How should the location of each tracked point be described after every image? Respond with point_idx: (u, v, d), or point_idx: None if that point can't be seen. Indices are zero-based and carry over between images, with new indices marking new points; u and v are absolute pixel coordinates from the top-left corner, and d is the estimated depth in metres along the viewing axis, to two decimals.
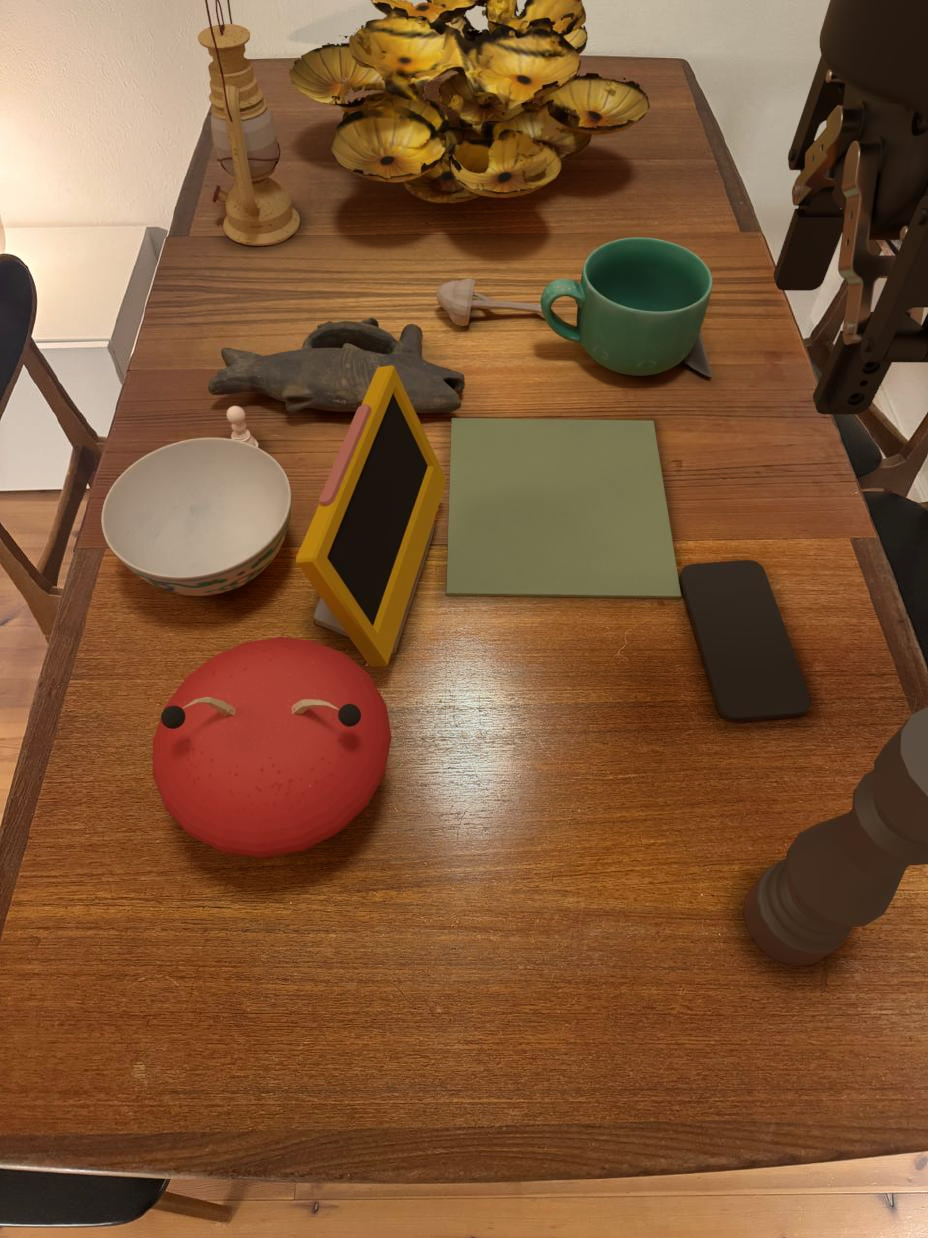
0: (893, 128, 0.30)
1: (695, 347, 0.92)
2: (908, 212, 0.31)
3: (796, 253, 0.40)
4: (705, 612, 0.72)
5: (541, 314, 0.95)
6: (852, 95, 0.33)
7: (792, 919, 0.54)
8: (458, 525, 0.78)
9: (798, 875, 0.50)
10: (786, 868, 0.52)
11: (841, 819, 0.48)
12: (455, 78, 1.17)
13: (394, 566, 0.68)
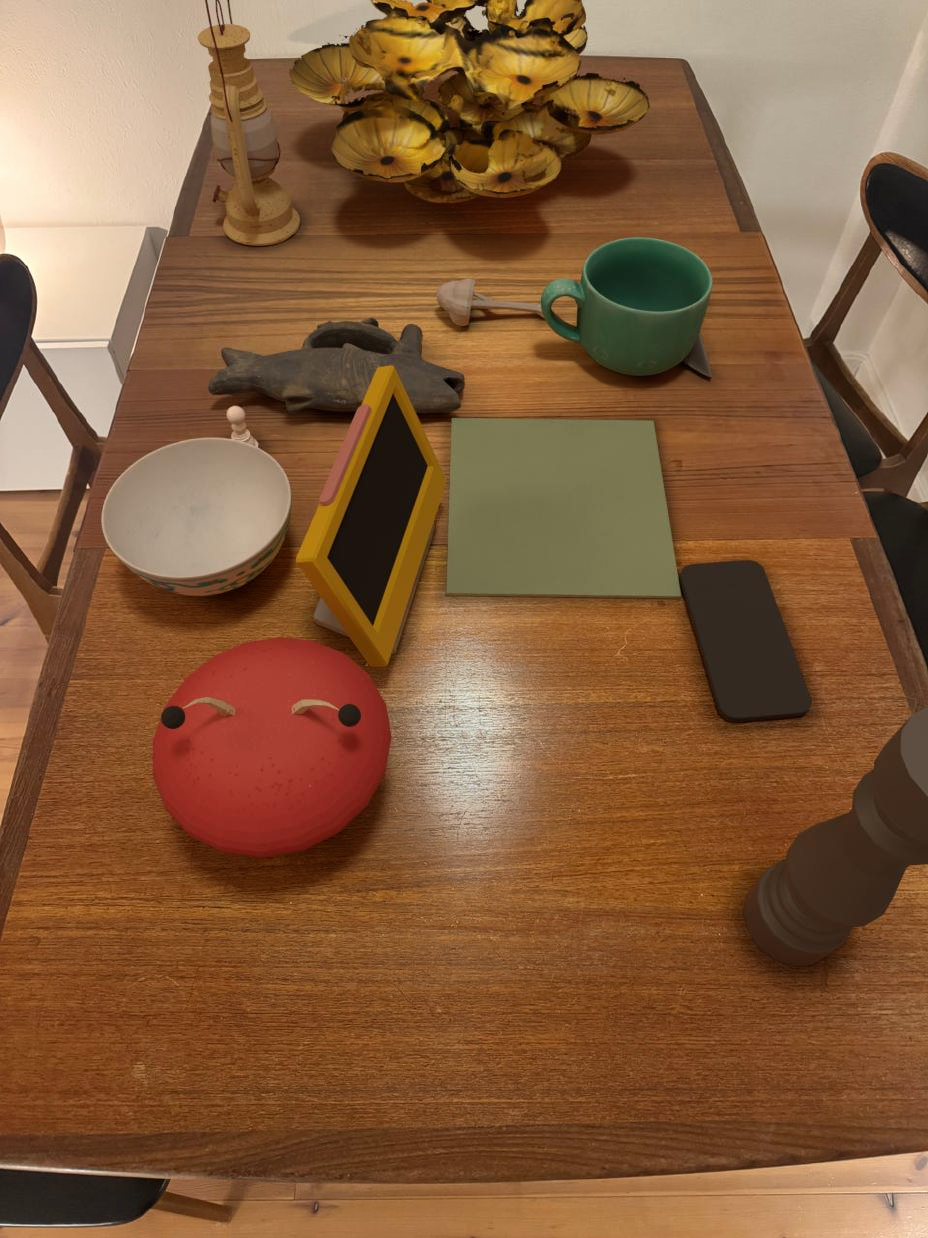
0: None
1: (695, 347, 0.92)
2: None
3: None
4: (705, 612, 0.72)
5: (541, 314, 0.95)
6: None
7: (792, 919, 0.54)
8: (458, 525, 0.78)
9: (798, 875, 0.50)
10: (786, 868, 0.52)
11: (841, 819, 0.48)
12: (455, 78, 1.17)
13: (394, 566, 0.68)
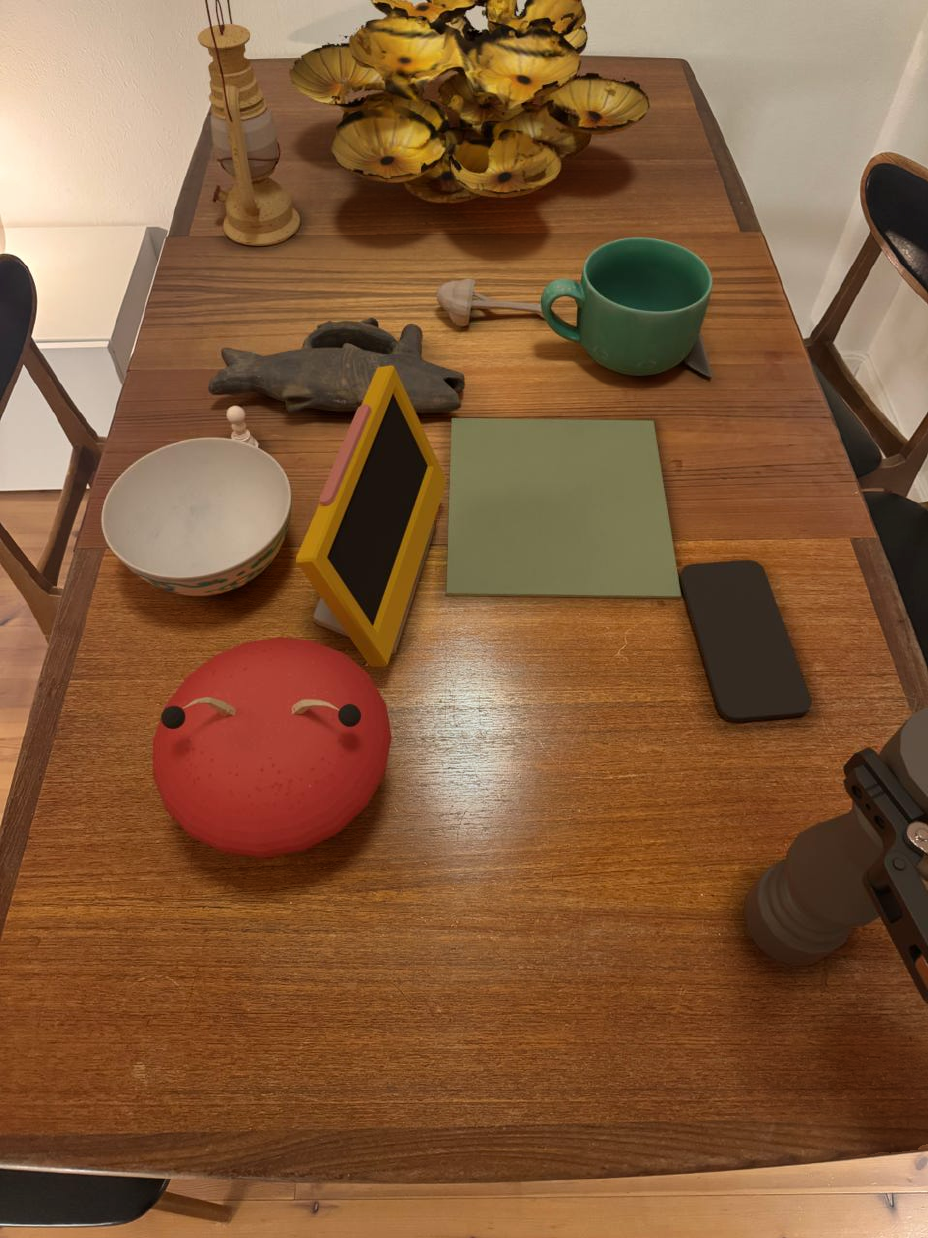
0: None
1: (695, 346, 0.92)
2: None
3: None
4: (705, 612, 0.72)
5: (541, 314, 0.95)
6: None
7: (792, 919, 0.54)
8: (458, 525, 0.78)
9: (798, 875, 0.50)
10: (786, 868, 0.52)
11: (841, 819, 0.48)
12: (455, 78, 1.17)
13: (394, 566, 0.68)
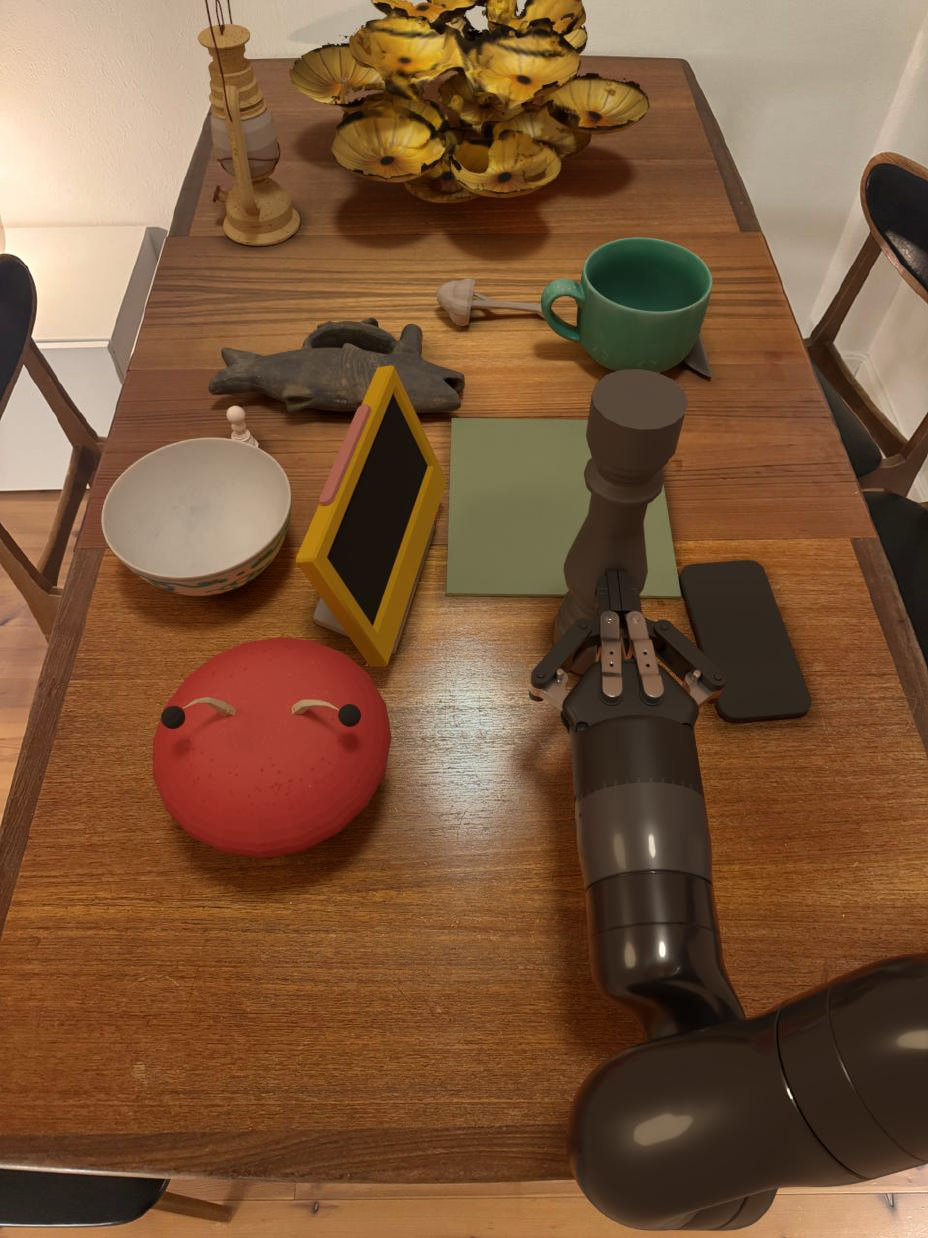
0: None
1: (695, 347, 0.92)
2: None
3: None
4: (705, 612, 0.72)
5: (541, 314, 0.95)
6: None
7: None
8: (458, 525, 0.78)
9: (568, 565, 0.63)
10: None
11: None
12: (455, 78, 1.17)
13: (394, 566, 0.68)
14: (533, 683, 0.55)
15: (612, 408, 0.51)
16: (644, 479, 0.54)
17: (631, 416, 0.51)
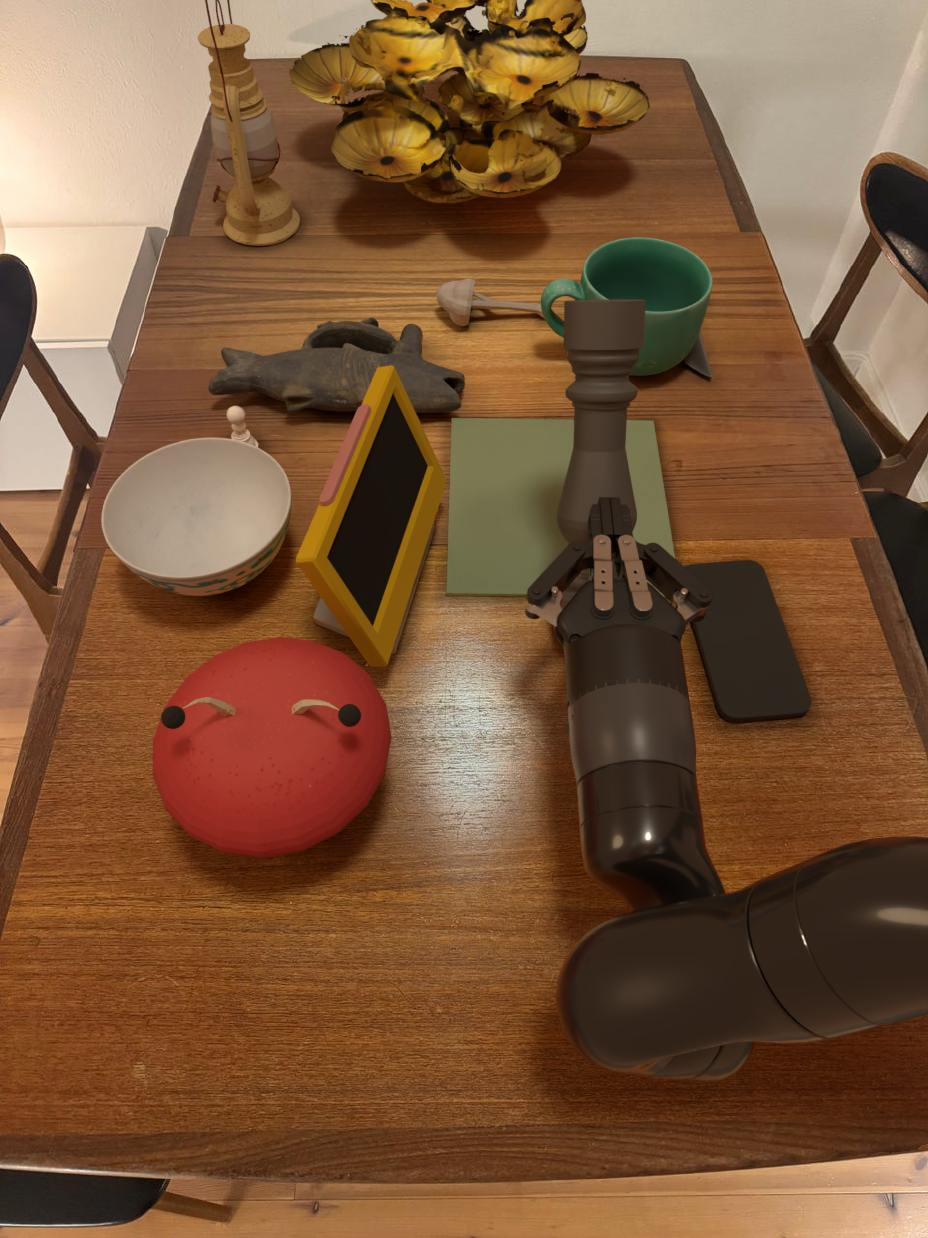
0: None
1: (695, 347, 0.92)
2: None
3: None
4: None
5: (541, 314, 0.95)
6: None
7: None
8: (458, 525, 0.78)
9: (560, 504, 0.66)
10: None
11: None
12: (455, 78, 1.17)
13: (394, 566, 0.68)
14: (529, 599, 0.58)
15: (582, 301, 0.61)
16: (618, 371, 0.61)
17: (598, 301, 0.60)
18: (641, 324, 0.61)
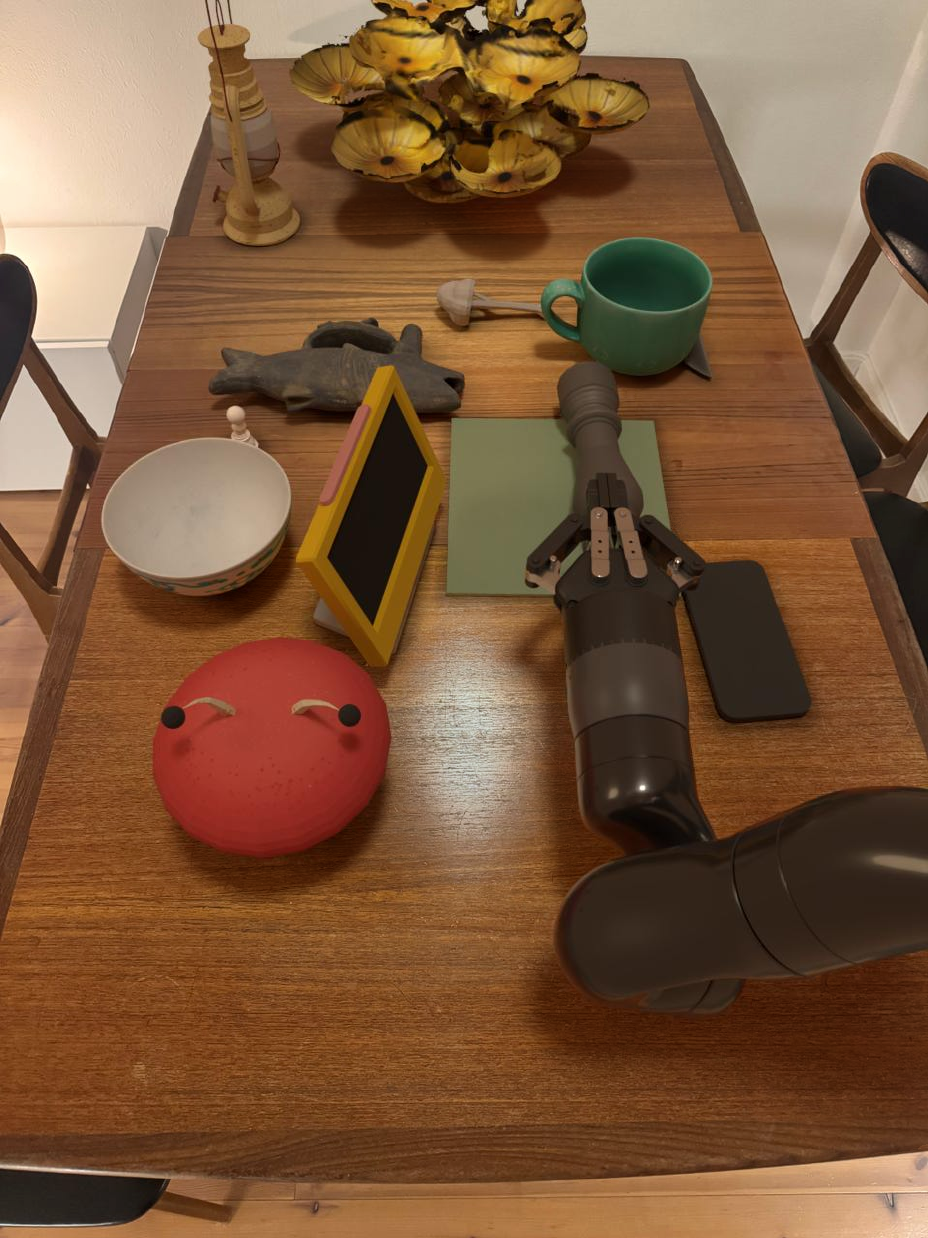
0: None
1: (695, 347, 0.92)
2: None
3: None
4: (705, 612, 0.72)
5: (541, 314, 0.95)
6: None
7: None
8: (458, 525, 0.78)
9: (592, 475, 0.75)
10: (585, 487, 0.74)
11: (579, 461, 0.79)
12: (455, 78, 1.17)
13: (393, 566, 0.68)
14: (528, 568, 0.60)
15: None
16: (614, 411, 0.82)
17: None
18: None
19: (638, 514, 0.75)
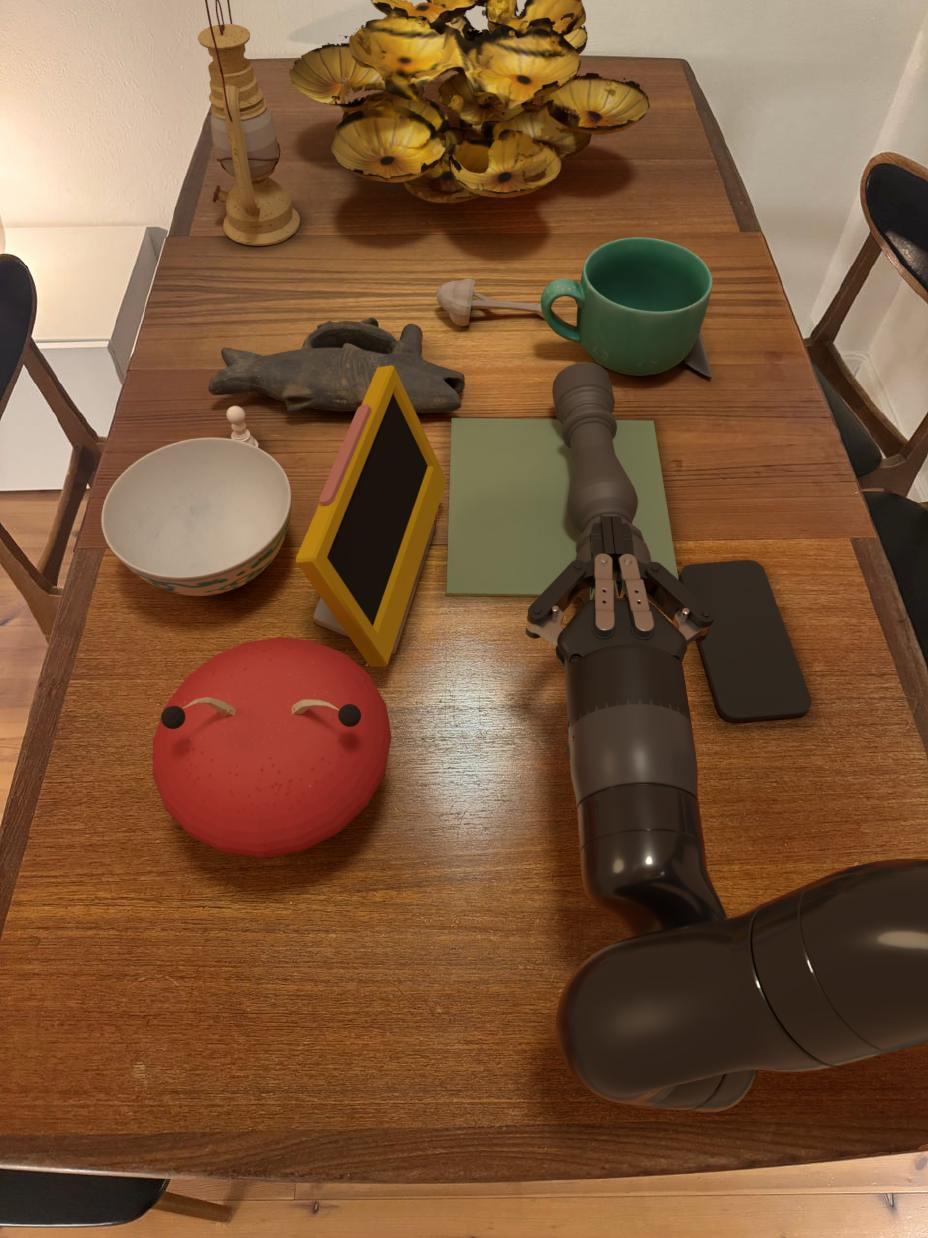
0: None
1: (695, 347, 0.92)
2: None
3: None
4: None
5: (541, 314, 0.95)
6: None
7: None
8: (458, 525, 0.78)
9: (582, 478, 0.75)
10: (575, 491, 0.75)
11: (573, 464, 0.79)
12: (455, 78, 1.17)
13: (394, 566, 0.68)
14: (530, 619, 0.58)
15: None
16: (608, 409, 0.82)
17: None
18: None
19: (632, 512, 0.74)
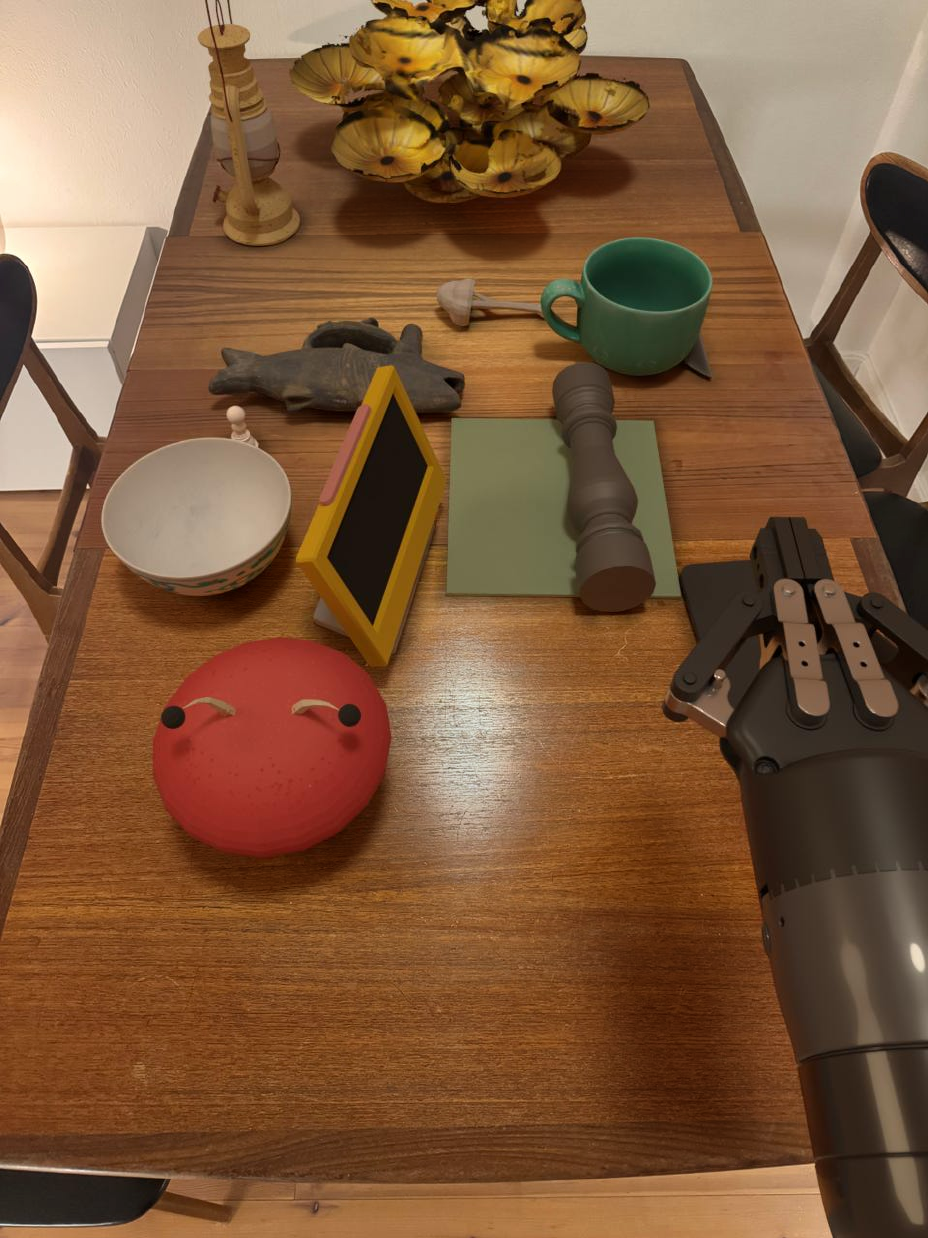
0: None
1: (695, 347, 0.92)
2: None
3: None
4: (705, 612, 0.72)
5: (541, 314, 0.95)
6: None
7: (607, 520, 0.72)
8: (458, 525, 0.78)
9: (581, 478, 0.75)
10: (575, 491, 0.75)
11: None
12: (455, 78, 1.17)
13: (393, 566, 0.68)
14: (677, 693, 0.34)
15: None
16: (608, 409, 0.82)
17: None
18: None
19: (631, 512, 0.74)
